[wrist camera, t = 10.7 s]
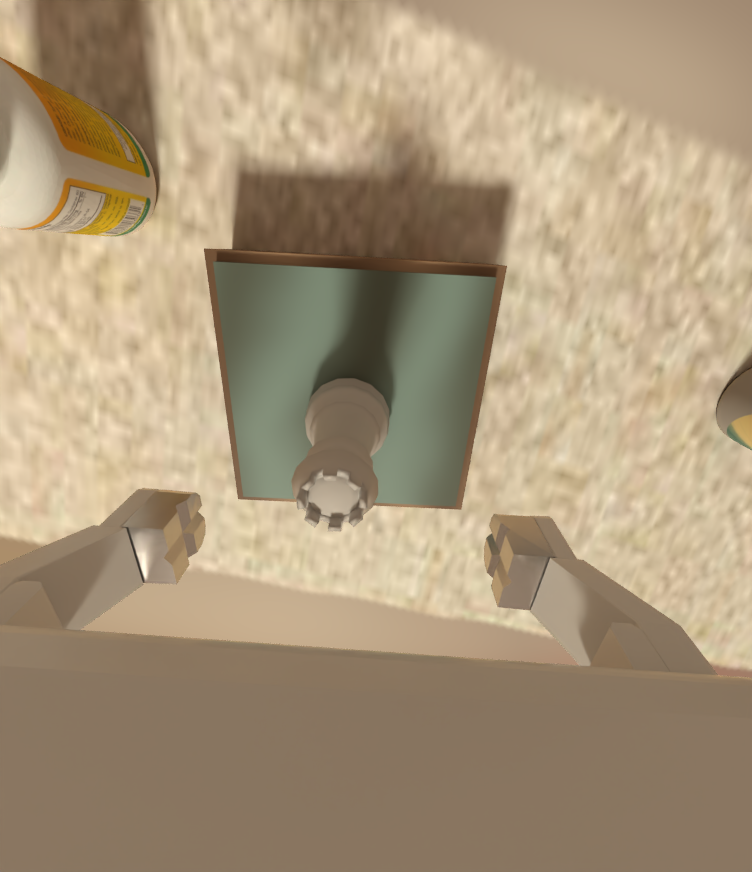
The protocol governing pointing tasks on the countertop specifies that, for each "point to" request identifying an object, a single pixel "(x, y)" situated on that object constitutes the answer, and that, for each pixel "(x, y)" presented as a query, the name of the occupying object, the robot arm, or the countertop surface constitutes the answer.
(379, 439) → the rook chess piece
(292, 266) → the walnut plinth
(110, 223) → the supplement bottle
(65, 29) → the countertop surface
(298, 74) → the countertop surface
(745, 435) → the lotion bottle
